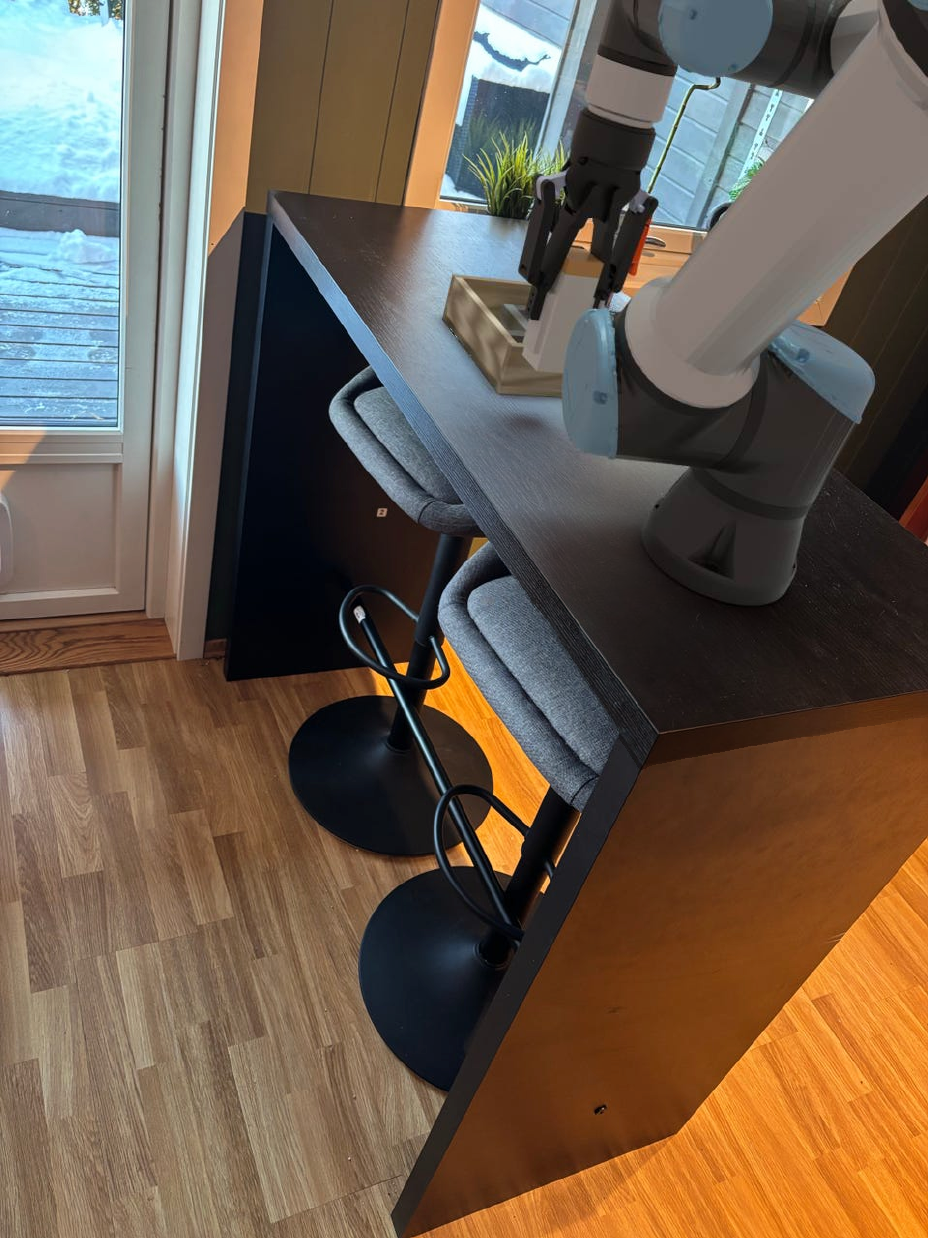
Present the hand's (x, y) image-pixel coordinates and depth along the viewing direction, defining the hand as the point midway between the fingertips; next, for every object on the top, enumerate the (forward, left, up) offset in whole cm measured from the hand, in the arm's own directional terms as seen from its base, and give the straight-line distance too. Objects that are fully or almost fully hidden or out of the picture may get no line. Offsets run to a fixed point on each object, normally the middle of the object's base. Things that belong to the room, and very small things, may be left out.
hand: (549, 349), depth 103 cm
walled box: (+16, -8, -9) cm, 19 cm away
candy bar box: (+32, -24, -9) cm, 41 cm away
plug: (0, 0, -2) cm, 2 cm away
